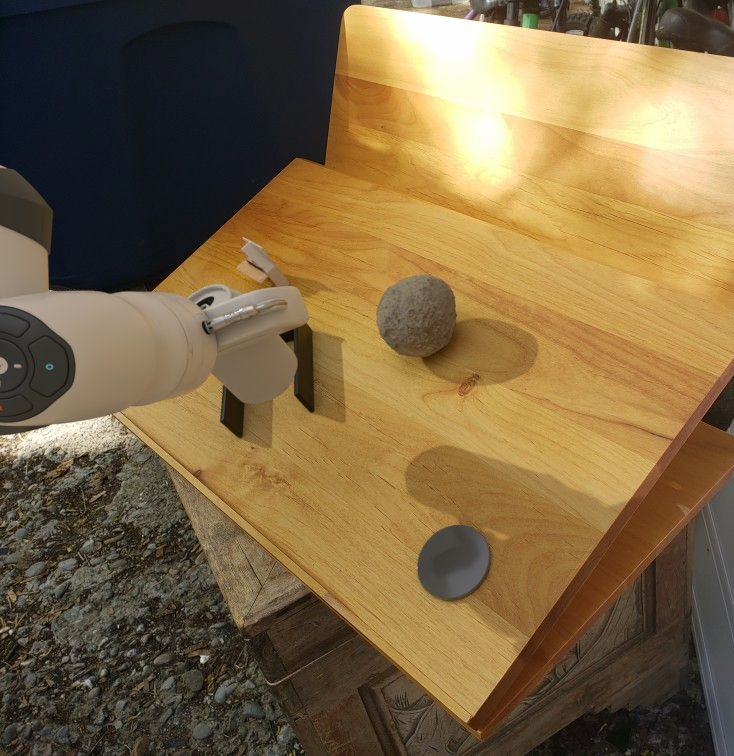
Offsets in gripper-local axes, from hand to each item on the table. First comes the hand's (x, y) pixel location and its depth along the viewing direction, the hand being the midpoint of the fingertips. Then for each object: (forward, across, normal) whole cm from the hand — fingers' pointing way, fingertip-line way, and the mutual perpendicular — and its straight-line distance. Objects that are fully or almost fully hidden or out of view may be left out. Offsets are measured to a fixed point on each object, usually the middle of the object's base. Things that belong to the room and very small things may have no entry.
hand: (234, 337), depth 69 cm
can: (+4, 0, +5) cm, 7 cm away
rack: (+21, +7, +5) cm, 22 cm away
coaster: (-2, -14, +29) cm, 32 cm away
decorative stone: (+19, -16, +8) cm, 26 cm away
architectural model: (+36, +7, -9) cm, 38 cm away
